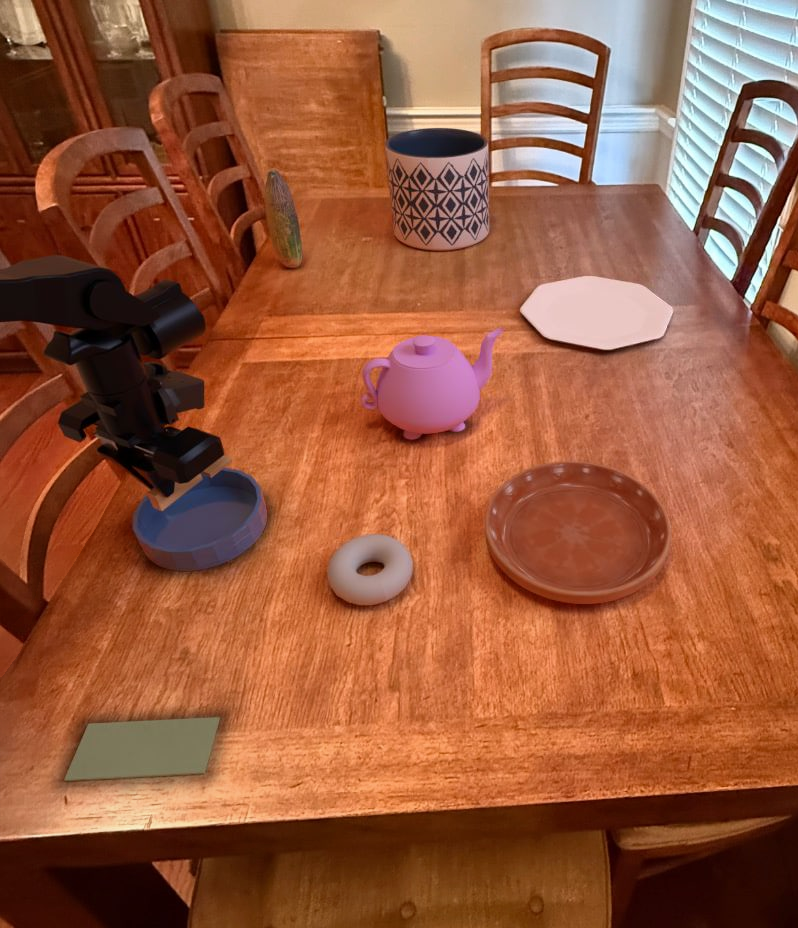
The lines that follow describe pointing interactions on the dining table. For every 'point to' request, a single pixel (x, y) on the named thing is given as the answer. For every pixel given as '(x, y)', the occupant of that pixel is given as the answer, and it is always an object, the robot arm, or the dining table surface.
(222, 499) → the bowl
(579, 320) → the plate
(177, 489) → the beige slabs
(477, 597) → the dining table surface
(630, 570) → the saucer
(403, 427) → the teapot
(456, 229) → the planter
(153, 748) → the mat
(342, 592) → the donut
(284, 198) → the vegetable
